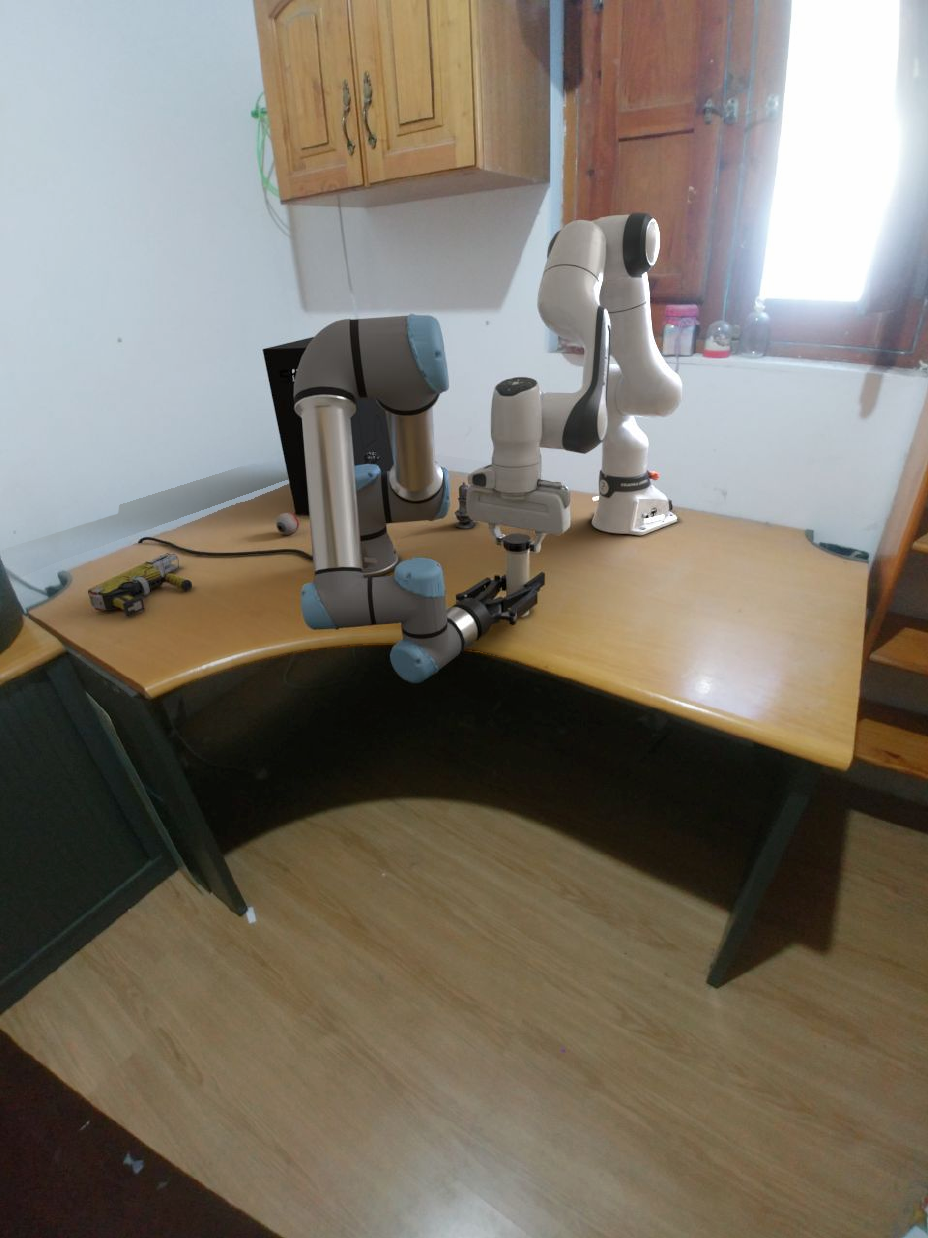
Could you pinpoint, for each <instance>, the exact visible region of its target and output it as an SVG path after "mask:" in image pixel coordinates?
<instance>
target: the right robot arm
mask: <svg viewBox="0 0 928 1238" xmlns="http://www.w3.org/2000/svg"><path fill="white" fill-rule="evenodd" d="M660 238H661V237H660V230H659V225H658V222H657V220H656V219H655V218H654V217H653V216H652V215H651V213H649V212H639V211H638V212H631V213H630V214H616V215H614V214H613V215H606V216H601V217H599V218H598V219H592V220H588V219H587V220H586V219H577V220H573V221H570V222H568V223H567V224H565V225H564V226H563V227H562V228H561V229H560V230H558V231H556V233H554V235H553V237H552V238H551V240H550V241H549V243H548V246H547V252H546V253H547V254H546V256H547V257H546V263H545V266H544V269H543V273H542V277H541V280H540V284H539V288H538V292H537V300H536V303H537V304H536V307H537V311H538V314H539V317H540V319H541V321H542V323H544V325H545V326H546V327H547V328H548V329H549V330H550V331H551V332H552V333H554V334H555V335H557V336H558V337H560V338H561V339H562V338H563V339H565V340H567V341H570V342H573V343H574V344H576V345H578V346H579V347H581V348H583V349H584V355H583V366H582V367H583V369H582V380H581V381H582V382H581V387H580V389H578V390H577V391H576V392H551V391H542V390H540V385H539V382H538V381H537V380H536V379H534V378H532V377H527V376H517V377H512V378H507V379H504V380H502V381H500V382H499V383H497V384H496V385H495V387H494V388H493V393H492V398H491V399H492V400H491V405H490V407H491V408H490V438H491V441H492V446H493V448H492V449H493V450H492V456H491V464H487V465H484V466H481V467H479V468H477V469H475V470H474V471H472V472H471V473H469V474H468V475H467V483H468V485H469V488H468V490H467V496H466V510H467V515H468V516H469V518H470V519H471V520H472V521H474V522H481V523H487V525H488V529H489V531H490V533H491V535H492V536H493V542H494V543H493V544H494V545H495V546H498V547H499V546H500V547H503V541H504V537H505V536H506V534H502V532H501V529H500V527H499V526H503V527H509V528H515V529H520V530H525V531H532V532H534V537H536V539H535V540H533V541H532V540H531V543H530V549H529V553H535V554H538V553H540V551H541V549H542V542H543V540H544V538H545V537H546V535H552V536H557V537H559V536H561V535H563V534H564V533H565V532H567V531H568V529H569V528H570V527H571V510H570V503H571V490H570V489H569V488H568V487H567V486H566V485H564V483H563V482H561V481H551V480H547V479H542V470H543V469H542V466H543V463H542V461H543V458H542V453H541V449H552V450H564V451H567V452H571V453H578V454H583V455H586V454H588V453H589V452H591V451H592V450H595V448H597V447H598V446H600V445H601V468H600V470H599V474H598V492H599V493H598V496H593V497H592V500H593V501H597V502H596V507H595V511H594V514H593V517H592V520H591V525H592V526H593V527H594V528H595V529H597V530H599V531H601V532H605V533H611V534H623V535H625V534H626V535H632V536H633V535H634V536H645V535H646V534H650V533H652V532H654V531H657V530H660V529H662V528H665V527H668V526H670V525H672V524H675V523H677V522H678V516H677V515H676V514H675V513H674V512H672V511H673V507H674V506H673V500H671V499H670V498H668V497H667V496H666V495H665V494H664V493H663V492H661V491H660V490H659V489H658V488H656V487H655V486H654V485H652V483H651V480H653V481H658V479H659V478H660V473H659V472H657V471H654V470H651V471H649V470H648V469H647V466H648V458H649V457H648V456H649V447H650V443H649V438H648V437H647V436H648V435H646V433H644V431H642V430H641V429H640V427H639V426H638V424H637V421H636V418H635V417H637V418H644V419H659V418H667V417H669V416H671V415H672V414H673V413H675V411H676V410H677V409H678V407H679V406H680V404H681V401H682V399H683V395H684V387H683V382H682V379H681V378H680V375H678V374H677V373H676V372H675V371H674V370H673V369H672V368H670V366H669V365H668V364H667V363H666V361H665V359H664V358H663V356H662V354H661V353H660V350H659V348H658V346H657V344H656V341H655V337H654V332H653V324H652V315H651V313H652V312H651V302H650V301H651V299H650V285H649V279H648V272H650V270H651V269H652V268H653V267H654V265H655V264H656V262H657V259H658V256H659V252H660V242H661V239H660ZM611 357H612V358H613V359H614V361H615V362H616V363H610V360H611V359H610V358H611ZM540 448H541V449H540Z"/></svg>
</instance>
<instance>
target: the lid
mask: <svg viewBox="0 0 928 1238" xmlns="http://www.w3.org/2000/svg"><path fill="white" fill-rule="evenodd" d="M531 542H532V538H531V536H530V535H529V534H527V533H521V532H520V533H519V532H517V533H516V532H515V533H509V534H507V535H505V537H504V541H503V545H502V547H503V549H504V550H505V549H506V550H508V551H511V552H523V551H526V550H528V549H529V550H530V543H531Z"/></svg>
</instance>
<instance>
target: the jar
mask: <svg viewBox="0 0 928 1238" xmlns="http://www.w3.org/2000/svg"><path fill="white" fill-rule="evenodd" d="M504 551H505V552H504V553H505V557H504V558H505V574H506V591H505V596H508V595H510V594H512V593H514V592H516V591H519V590H521V589H523V588H524V584H526V583H527V582H528V581H530V549H528V550H526V551H523V552H511V551H508V550H506V549H505V548H504ZM529 614H530V610H529V611H527V612H526V613H525V614H524V615H522V616H521V617H520V618H519V619H521V618H525V617H527V616H528V615H529Z"/></svg>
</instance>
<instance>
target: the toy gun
mask: <svg viewBox="0 0 928 1238" xmlns="http://www.w3.org/2000/svg"><path fill="white" fill-rule="evenodd" d="M174 561H177V564H174V563H172V562H174ZM179 568H180V561H179V557H178V555H177V553H172V554H171V552H166V553H165V554H163V555H159V556H158V557H156V558H153V559H152V560H150V561H145V562H143V563H141V564H139V565H137V566H134V567H133V568H131V569H129V570H127V571H124V572H122V573H119V574H118V575H116V576H114V577H111V578H110V579H107V580H105V581H103V582H101V583H99V584H97V585H95V586H93V587H91V588H89V589H87V595H88V597H89V602H90V604H91V607H92V608H94V610H96V611H99V612H101V611H111V610H116V609H121V610H123V611H124V613H125V617H128V618H129V617H132V616H133V615H136V614H139V613H140V612H142V611H144V610H145V605H144V601H143V600H144V599H143V598H144V597H146V596H148V595H150V591H151V590H152V589H155V588H157V587H160V586H162V585H163V584H164V583H166V584H170V585H171V586H174V587H177V588H178V589H181V590H183V591H185V592H188V591H190V590H191V589H192V588H193V583H192V581H191V580H190V579H186V578H183V577H181V576H178V575H176V574H174V573H172V572H173V571H174V570H176V569H179Z"/></svg>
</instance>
